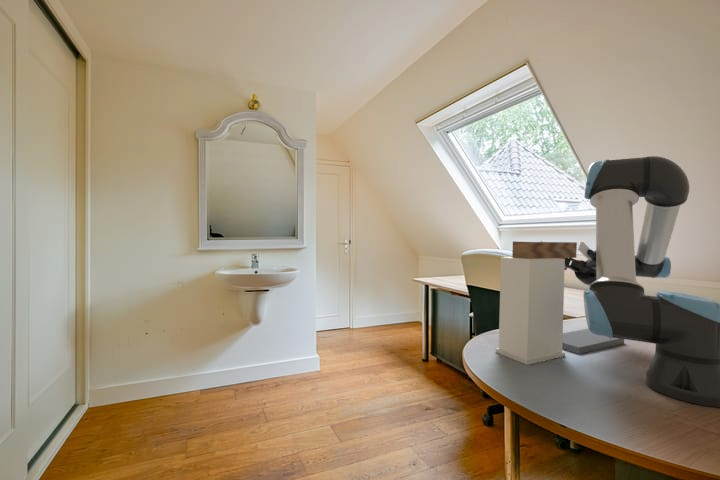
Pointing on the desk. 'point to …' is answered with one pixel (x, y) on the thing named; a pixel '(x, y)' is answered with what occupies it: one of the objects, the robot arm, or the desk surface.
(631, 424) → the desk surface
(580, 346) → the felt mat
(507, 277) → the stand
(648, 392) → the desk surface
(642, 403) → the desk surface
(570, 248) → the walnut bar
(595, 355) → the desk surface
